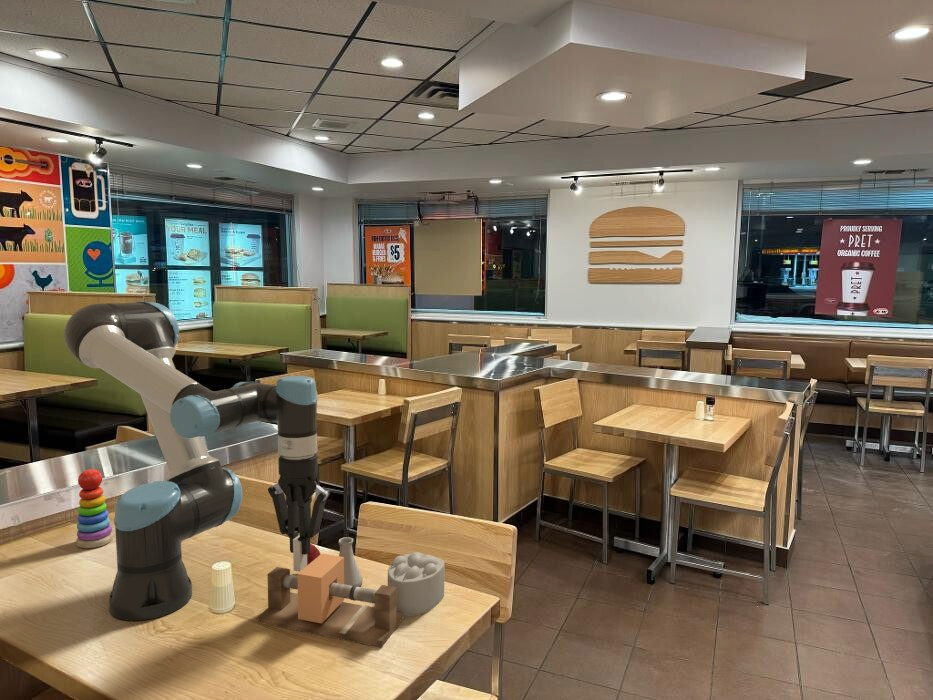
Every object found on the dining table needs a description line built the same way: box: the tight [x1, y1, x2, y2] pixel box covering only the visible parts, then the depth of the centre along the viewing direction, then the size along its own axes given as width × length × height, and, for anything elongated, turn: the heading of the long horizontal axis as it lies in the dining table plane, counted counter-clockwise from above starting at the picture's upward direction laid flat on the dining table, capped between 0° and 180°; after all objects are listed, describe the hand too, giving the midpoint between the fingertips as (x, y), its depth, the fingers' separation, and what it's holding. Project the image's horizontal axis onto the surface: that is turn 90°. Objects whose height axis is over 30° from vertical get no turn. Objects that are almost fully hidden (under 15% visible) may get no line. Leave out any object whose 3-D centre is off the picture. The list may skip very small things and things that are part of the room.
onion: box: [307, 542, 322, 565], centre depth 139 cm, size 6×6×8 cm
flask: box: [338, 536, 363, 587], centre depth 135 cm, size 7×7×10 cm
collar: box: [297, 553, 345, 623], centre depth 121 cm, size 5×9×9 cm, turn 164°
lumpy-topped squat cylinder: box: [387, 551, 446, 617], centre depth 128 cm, size 10×13×9 cm
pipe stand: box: [257, 566, 404, 648], centre depth 120 cm, size 26×10×8 cm, turn 74°
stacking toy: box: [75, 468, 114, 549], centre depth 152 cm, size 8×8×19 cm
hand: (300, 568), depth 126 cm, fingers closed
